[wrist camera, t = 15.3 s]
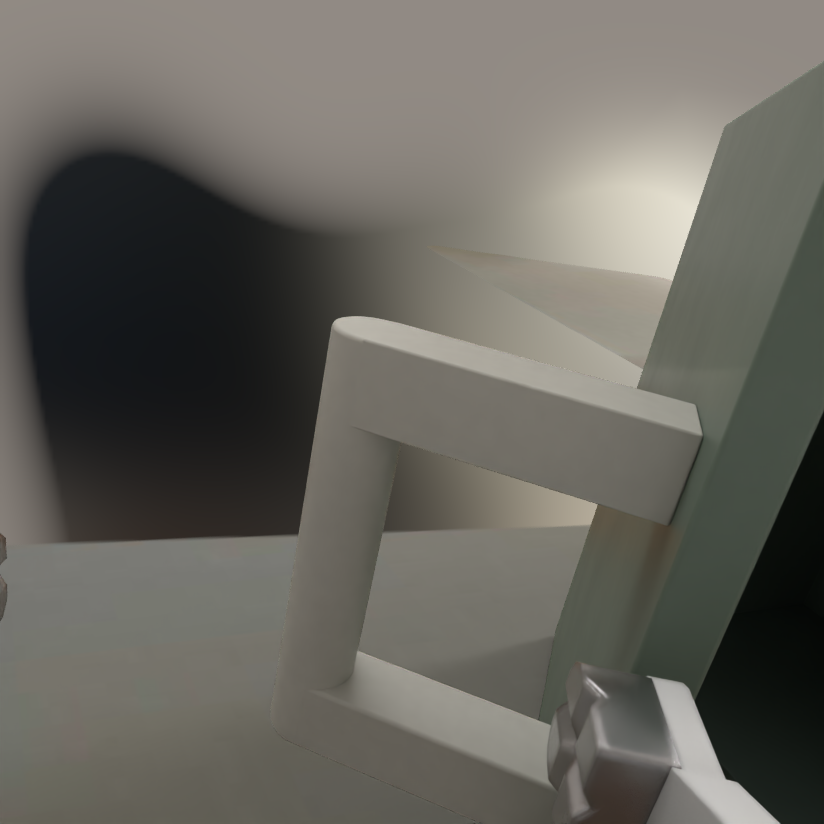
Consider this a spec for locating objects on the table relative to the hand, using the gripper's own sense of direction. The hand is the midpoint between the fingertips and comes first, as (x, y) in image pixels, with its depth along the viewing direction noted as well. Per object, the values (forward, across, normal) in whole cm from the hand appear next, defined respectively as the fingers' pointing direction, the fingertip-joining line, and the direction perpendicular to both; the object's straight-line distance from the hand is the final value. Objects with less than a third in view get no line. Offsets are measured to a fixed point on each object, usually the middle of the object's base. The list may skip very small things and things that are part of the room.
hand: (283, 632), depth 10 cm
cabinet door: (+9, +4, -11) cm, 15 cm away
